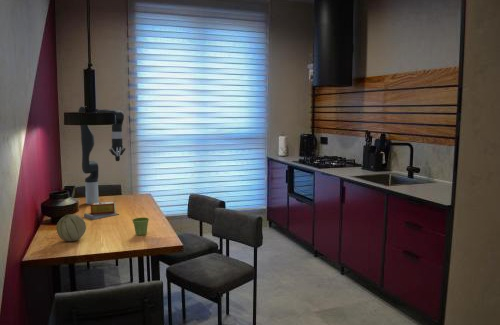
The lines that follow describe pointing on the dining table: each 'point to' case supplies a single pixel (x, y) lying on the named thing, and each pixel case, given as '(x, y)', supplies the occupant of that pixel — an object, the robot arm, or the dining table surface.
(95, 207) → the baking soda box
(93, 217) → the bookend
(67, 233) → the cantaloupe
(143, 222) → the plant pot
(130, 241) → the dining table surface
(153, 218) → the dining table surface
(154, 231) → the dining table surface
